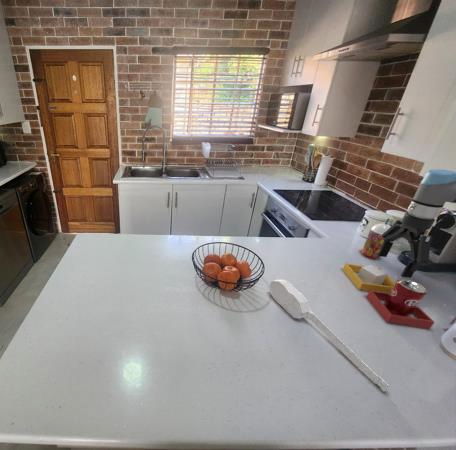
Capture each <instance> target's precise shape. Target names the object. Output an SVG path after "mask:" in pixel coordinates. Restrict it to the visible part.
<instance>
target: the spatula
mask: <svg viewBox="0 0 456 450" xmlns="http://www.w3.org/2000/svg"><path fill="white" fill-rule="evenodd" d="M268 288H269V290H270V295H271V296H272V297H273V299H274V301H276V302H277V303H278V304H279V305H280V306H281V307H282V308H283V309H284V310H285V311H286V313H288V314H289V315H290V316H291V317H292V318H294V319H299V320H300V319H303V318H306V319H307V320H308V321H311V323H313V324H314V325H315V326H316V327H317V328H318V329H319V330H320V331H321V332H322V334H324V336H326V337H327V339H329V340H330V341H331V342H332V344H334V346H335V347H337V349H338V350H339V351H341V353H343V354H344V356H345V357H347V359H349V360H350V362H352V364H353V365H354V366H355V367H356V368H357V369H358V370H359V371H361V373H362V374H364V375H365V377H367V378H368V379H369V380H370V381H371V382H372V383H373V384H375V385H376V384H377V385H378V386H379V387H380V390H381V391H382V392H384V393H385V392H386V391H387V390H388V389H389V388H390V386H389V384H388V382H386V381H385V380H384V379H383V378H382V377H381V376H379V375H378V374H376V373H375V371H373V370H372V369H371V367H370V366H368V365H367V364H366V363H365V361H363V360H362V359H361V357H359V356H358V355H357V354H356V353H355V352H354V351H353V350H352V349H351V348H350V347H349V346H348V345H347V344H346V343H345V342H344V341H343V340H342V339H340V337H338V336H337V334H336V333H334V332H333V330H332V329H330V328H329V327H328V326H327V325H326V324H325V323H324V322H323V321H322V320H321V319H320V318H319V317H318V316H317V315H316V314H315V313H314V312H313V311H312V309H311V306H310V302H309V300H308V299H307V297H305V295H304V294H303V293H302V292H300V291H299V290H298V289H297V288H296V287H295V286H294V284H292V283H291V282H290V281H288V280H286V279H276V280H271V281H270V284H269V286H268Z"/></svg>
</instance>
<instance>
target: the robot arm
mask: <svg viewBox="0 0 456 450" xmlns="http://www.w3.org/2000/svg"><path fill="white" fill-rule="evenodd" d="M446 203H451V204H456V171H454V170H448V169H440V168H433V169H429V170H428V171H427V172H426V173H425V175H424V176H423V178H422V179H421V181H420V182H419V186H418V187H417V190H416V192H415V194H414V196H413V198H412V199H411V202H410V203H409V205H408V207H407V209H406V212H405V213H404V215H403V216H402V219H396V220H395V222H394V223H393V224H392V225H390V226H391V227H390V228H389V229H388V230H387V231H386V232H385V233H383V234H382V235H381V237H383V238H384V242H383V244H382V246H381V250H380V252H379V254H378V256H380V257H381V258H387V256H388V254H389V253H390V251H391V249H392V247H393V245H394V243H395V241H396V240H398V239H401V238H404V239H405V240H406V241H407V242H408V244H409V247H410V255H411V260H408V262H407V264H406V265H405V267H404V269H403V271H402V273H401V275H400V276H401V277H402V278H407V279H408V278H409V279H412V277H413V275H414V274H415V272H417V271H418V269H419V268H420V266H428V265H429V262H430V253H431V243H432V241H433V239H434V237H433V236H432V235H427V234H426V231H428V230H430V229H431V228H432V226H433V225H434V224H435V221H436V219H437V218H438V217H439V214H440V213H441V211H442V210H443V208H444V206H445V204H446Z"/></svg>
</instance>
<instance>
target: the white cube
mask: <svg viewBox="0 0 456 450" xmlns="http://www.w3.org/2000/svg"><path fill="white" fill-rule="evenodd" d="M363 266H364V267H361V269H360V271H359V272H357V274H356V275H357V276H358V277H359V278H360V279H361V281H362V282H363V283H369V284H376V285H383V284H384V283H383V281H384V280H385V278H386V276H387V275H388V273H387V272H386V271H384V270H383V269H381V268H380V267H377V266H375V265H373V264H369V265H363ZM379 268H380V269H381V270H380V269H379Z"/></svg>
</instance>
